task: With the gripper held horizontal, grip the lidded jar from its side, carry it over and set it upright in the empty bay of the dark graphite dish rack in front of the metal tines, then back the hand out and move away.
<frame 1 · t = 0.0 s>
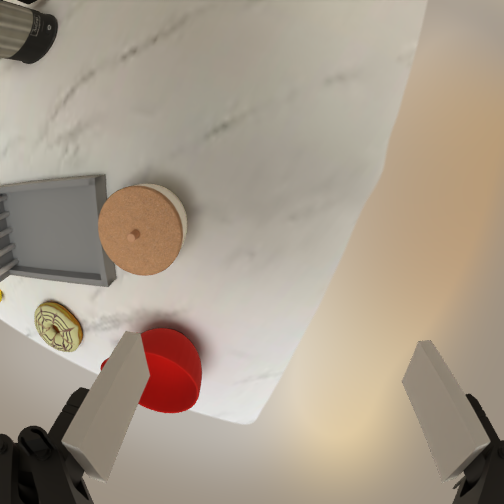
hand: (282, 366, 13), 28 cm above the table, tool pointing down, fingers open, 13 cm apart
dish rack: (50, 227, 41), on the table
milk frother: (24, 40, 29), on the table
decorated donut: (62, 322, 49), on the table
lidded jar: (158, 215, 40), on the table
ceramic cup: (161, 343, 48), on the table
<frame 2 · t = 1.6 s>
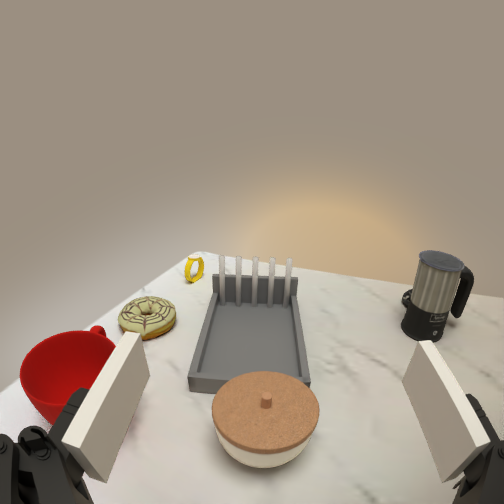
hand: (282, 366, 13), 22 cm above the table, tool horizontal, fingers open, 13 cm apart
dish rack: (251, 342, 49), on the table
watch: (195, 280, 70), on the table
milk frother: (418, 319, 54), on the table
decorated donut: (148, 326, 52), on the table
lidded jar: (262, 445, 30), on the table
ceramic cup: (97, 408, 32), on the table
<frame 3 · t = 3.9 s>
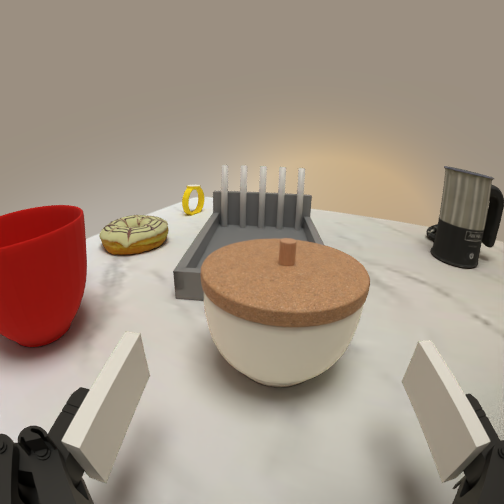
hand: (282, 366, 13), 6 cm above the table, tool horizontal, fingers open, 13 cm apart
dish rack: (259, 256, 41), on the table
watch: (193, 214, 62), on the table
milk frother: (447, 251, 46), on the table
decorated donut: (135, 246, 44), on the table
lidded jar: (277, 360, 22), on the table
ceramic cup: (51, 317, 25), on the table
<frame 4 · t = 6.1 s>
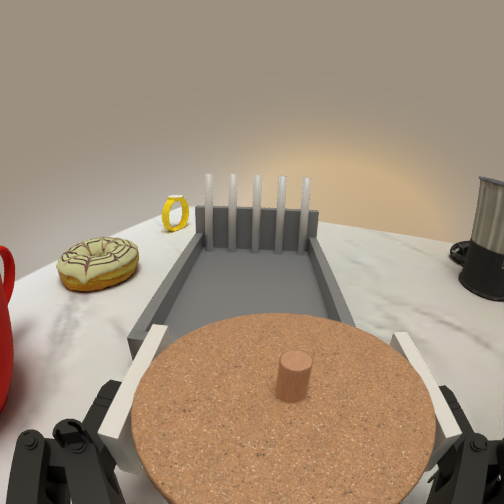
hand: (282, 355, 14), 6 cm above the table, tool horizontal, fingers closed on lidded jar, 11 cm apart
dish rack: (251, 297, 31), on the table
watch: (176, 230, 52), on the table
milk frother: (475, 276, 36), on the table
decorated donut: (99, 276, 34), on the table
lidded jar: (272, 485, 12), on the table, touching gripper
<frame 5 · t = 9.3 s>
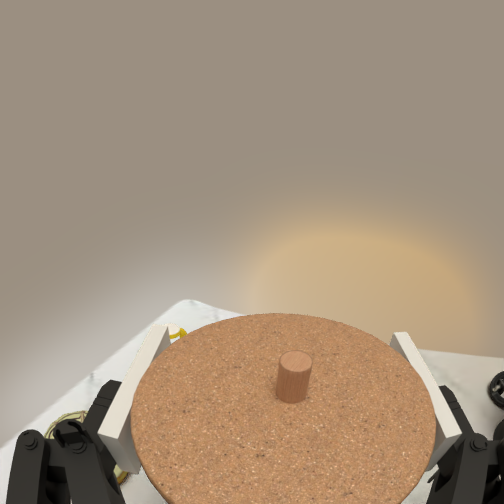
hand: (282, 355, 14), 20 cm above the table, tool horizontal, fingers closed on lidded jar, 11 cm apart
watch: (174, 362, 40), on the table
decorated donut: (90, 462, 23), on the table
lidded jar: (272, 485, 12), point 14 cm above the table, touching gripper
when the fingers open (8 cm above the table, at t = 12.4 s): lidded jar drops 1 cm, resting on dish rack.
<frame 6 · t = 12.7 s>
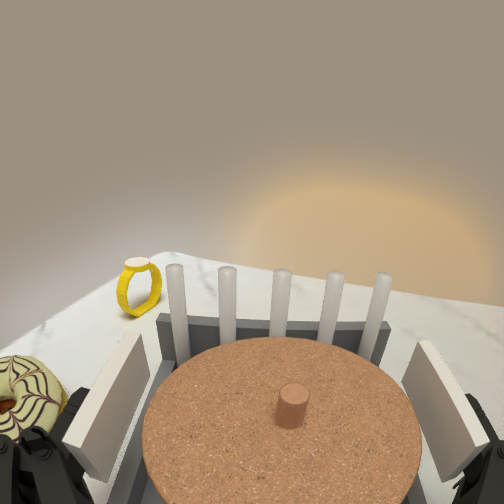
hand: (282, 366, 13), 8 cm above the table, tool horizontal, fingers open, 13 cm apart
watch: (143, 311, 32), on the table
decorated donut: (18, 426, 15), on the table
lidded jar: (269, 494, 13), point 1 cm above the table, touching dish rack
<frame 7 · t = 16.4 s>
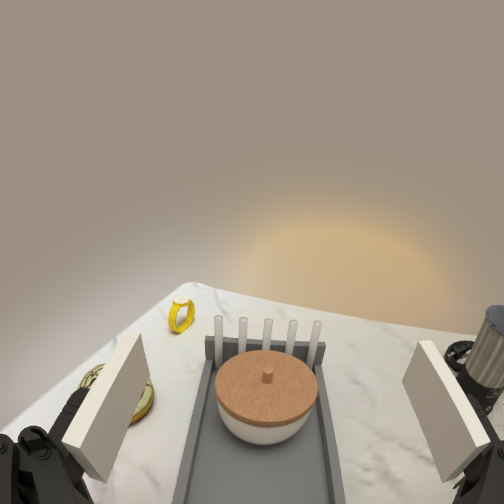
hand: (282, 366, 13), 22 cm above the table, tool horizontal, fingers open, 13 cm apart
dish rack: (260, 440, 30), on the table
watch: (183, 328, 51), on the table
milk frother: (464, 383, 37), on the table
decorated donut: (117, 403, 34), on the table
lidded jar: (261, 424, 32), point 1 cm above the table, touching dish rack
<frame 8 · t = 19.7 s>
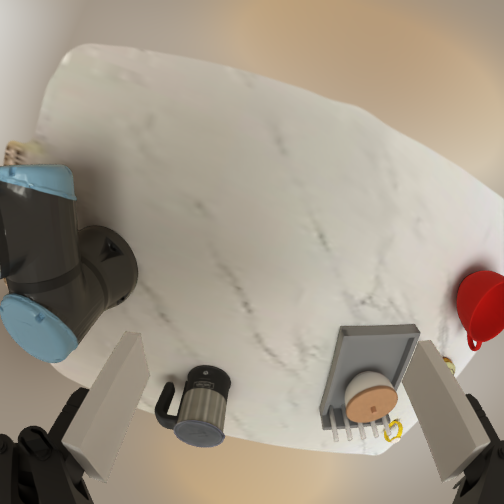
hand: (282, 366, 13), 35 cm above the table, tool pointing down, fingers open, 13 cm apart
dish rack: (365, 371, 57), on the table
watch: (390, 423, 65), on the table
milk frother: (205, 391, 61), on the table
decorated donut: (432, 372, 58), on the table
lidded jar: (363, 380, 57), point 1 cm above the table, touching dish rack
ceramic cup: (467, 296, 50), on the table
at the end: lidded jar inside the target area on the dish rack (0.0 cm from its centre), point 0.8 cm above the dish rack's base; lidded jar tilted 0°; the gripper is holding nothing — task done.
